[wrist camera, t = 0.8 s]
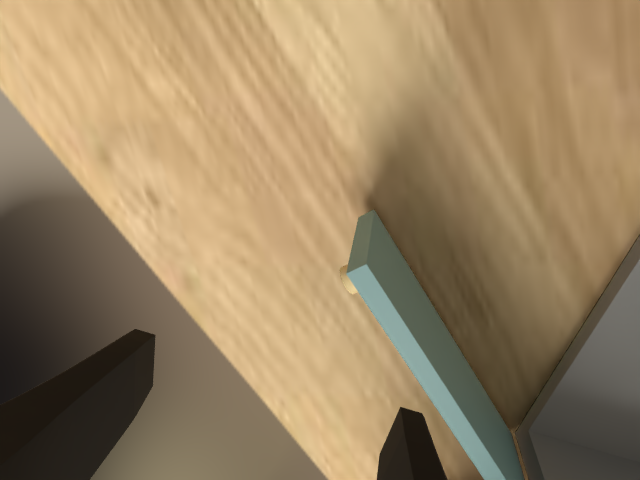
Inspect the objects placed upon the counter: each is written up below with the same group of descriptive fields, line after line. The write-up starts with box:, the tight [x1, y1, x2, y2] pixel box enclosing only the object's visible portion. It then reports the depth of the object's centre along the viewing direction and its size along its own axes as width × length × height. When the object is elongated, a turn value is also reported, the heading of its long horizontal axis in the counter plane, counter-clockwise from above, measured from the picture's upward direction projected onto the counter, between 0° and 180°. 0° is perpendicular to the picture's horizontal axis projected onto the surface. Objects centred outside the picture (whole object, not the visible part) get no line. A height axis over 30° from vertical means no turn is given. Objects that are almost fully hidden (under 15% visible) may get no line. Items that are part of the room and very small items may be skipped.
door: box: [340, 210, 525, 480], centre depth 19 cm, size 15×2×5 cm, turn 33°
